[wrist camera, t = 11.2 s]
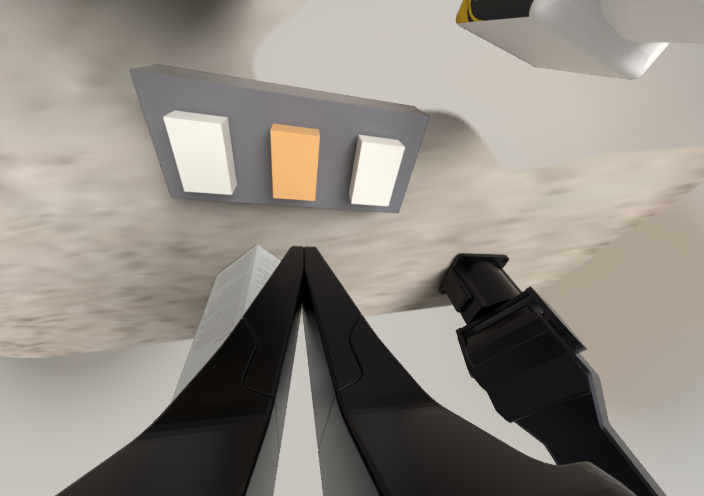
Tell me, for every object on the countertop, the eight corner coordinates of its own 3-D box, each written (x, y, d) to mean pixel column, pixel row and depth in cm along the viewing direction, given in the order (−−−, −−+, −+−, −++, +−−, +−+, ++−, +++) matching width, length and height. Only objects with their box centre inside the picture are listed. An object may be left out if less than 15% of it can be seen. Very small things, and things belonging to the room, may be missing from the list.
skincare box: (251, 292, 28) (224, 417, 19) (217, 273, 25) (165, 406, 16) (291, 265, 26) (282, 388, 17) (258, 241, 23) (226, 371, 14)
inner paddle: (398, 139, 16) (405, 147, 15) (383, 196, 18) (388, 206, 17) (358, 134, 15) (362, 141, 14) (348, 193, 18) (351, 203, 17)
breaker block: (414, 106, 18) (429, 116, 15) (389, 195, 22) (398, 213, 20) (157, 64, 14) (129, 69, 12) (187, 178, 19) (171, 197, 17)
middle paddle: (318, 129, 15) (319, 136, 14) (314, 190, 17) (315, 201, 16) (273, 123, 14) (270, 130, 13) (275, 187, 17) (273, 197, 16)
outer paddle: (227, 117, 14) (221, 124, 13) (237, 184, 16) (232, 194, 15) (174, 110, 13) (163, 116, 12) (192, 181, 16) (184, 191, 15)
